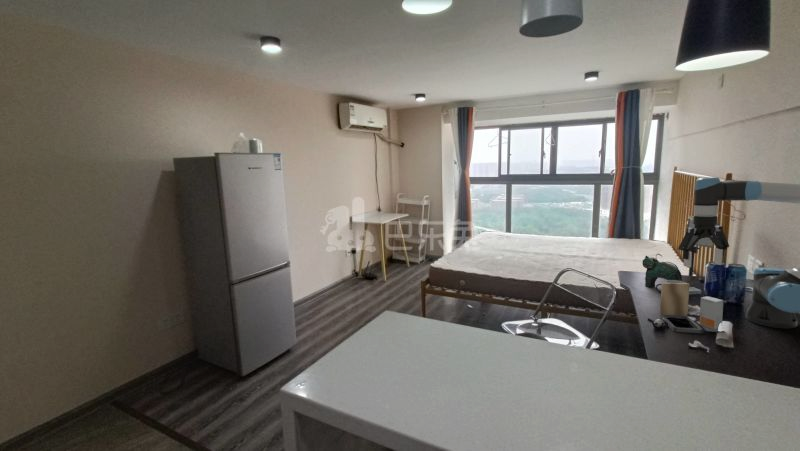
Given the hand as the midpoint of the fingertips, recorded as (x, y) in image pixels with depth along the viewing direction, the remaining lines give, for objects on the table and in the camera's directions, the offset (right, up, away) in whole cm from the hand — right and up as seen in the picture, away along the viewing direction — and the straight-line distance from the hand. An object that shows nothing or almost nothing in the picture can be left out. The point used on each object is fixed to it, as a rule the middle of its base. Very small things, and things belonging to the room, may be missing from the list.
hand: (702, 265), depth 148 cm
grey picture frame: (-6, -26, +4) cm, 27 cm away
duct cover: (-5, -16, +9) cm, 19 cm away
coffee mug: (+10, -22, +30) cm, 39 cm away
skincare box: (+3, -26, 0) cm, 26 cm away
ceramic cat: (+18, -19, +47) cm, 54 cm away
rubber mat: (+3, -26, 0) cm, 26 cm away
